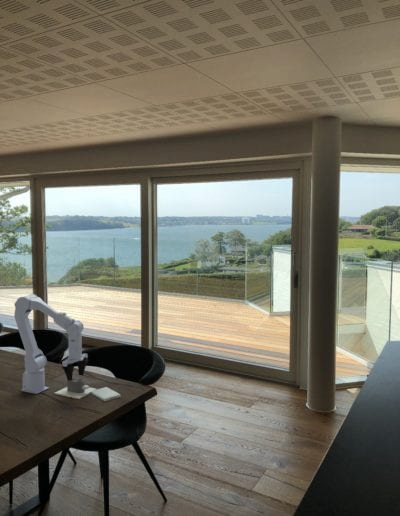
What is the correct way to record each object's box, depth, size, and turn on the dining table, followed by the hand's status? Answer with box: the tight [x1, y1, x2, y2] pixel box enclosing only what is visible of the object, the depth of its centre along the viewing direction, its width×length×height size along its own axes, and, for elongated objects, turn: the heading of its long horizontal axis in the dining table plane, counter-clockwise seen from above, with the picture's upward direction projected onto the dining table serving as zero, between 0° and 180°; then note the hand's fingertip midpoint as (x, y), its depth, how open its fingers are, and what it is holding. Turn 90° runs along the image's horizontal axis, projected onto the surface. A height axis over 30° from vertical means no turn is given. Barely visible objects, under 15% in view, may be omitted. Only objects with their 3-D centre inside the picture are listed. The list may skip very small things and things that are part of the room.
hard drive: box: [90, 386, 122, 402], centre depth 192 cm, size 2×8×12 cm
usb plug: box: [66, 377, 90, 393], centre depth 194 cm, size 11×4×5 cm, turn 65°
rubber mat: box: [54, 386, 98, 400], centre depth 195 cm, size 14×12×1 cm
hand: (75, 377), depth 195 cm, fingers open, 7 cm apart
